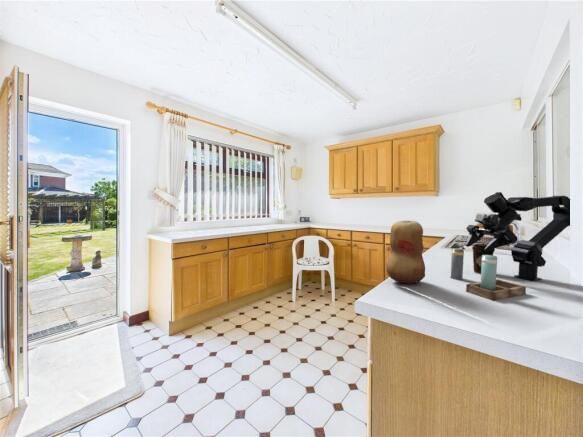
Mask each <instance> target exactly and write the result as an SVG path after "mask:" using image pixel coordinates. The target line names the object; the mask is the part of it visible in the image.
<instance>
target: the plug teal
mask: <svg viewBox="0 0 583 437" xmlns="http://www.w3.org/2000/svg"><path fill="white" fill-rule="evenodd" d="M497 266H498V256H496V255H493V256H492V255H482V266H481V274H480V282H481V285H480V288H483V289H486V290H489V291H496V280H497V270H498V267H497Z"/></svg>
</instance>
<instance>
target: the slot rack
mask: <svg viewBox="0 0 583 437" xmlns="http://www.w3.org/2000/svg"><path fill="white" fill-rule="evenodd" d="M480 285H481V281H478V282H471V283H468V284H467V283H466V286H465V287H466V289H465V292H466V293H468V294H471V295H474V296H478V297H480V298H482V299H483V298H484V299H486V300H490V301H492V302H496V301H501V300H506V299H510V298H515V297H520V296H526V295H527V292H526V291H527V290H526V289H527V286H524V285H522V284H521V285H520V284H517V283H513V282H510V281H507V280H502V279H497V278H496V291H489V290H486V289H483V288H480Z"/></svg>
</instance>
